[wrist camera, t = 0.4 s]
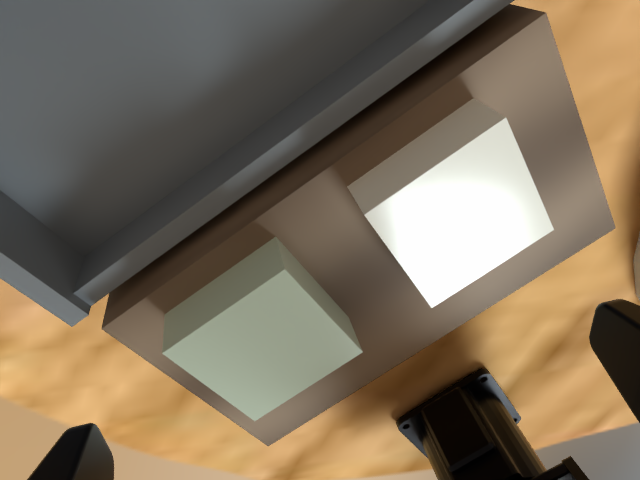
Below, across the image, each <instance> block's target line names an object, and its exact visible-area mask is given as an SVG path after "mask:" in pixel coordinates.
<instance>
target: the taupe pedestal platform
mask: <svg viewBox="0 0 640 480" xmlns="http://www.w3.org/2000/svg"><path fill="white" fill-rule="evenodd" d="M473 98H475V99H476V100H478V101H480V102H481V103H483V104H485V105H486V106H488V107H490V108H491V109H493V110H495V111H496V112H498V113H500V114H501V115H503V116H505V117H506V118H507V121H508V123H509V125H510V128H511V130H512V132H513V135H514V137H515V139H516V142H517V144H518V146H519V149H520V151H521V153H522V156H523V158H524V161H525V163H526V165H527V168H528V170H529V172H530V175H531V177H532V179H533V182H534V184H535V186H536V189H537V191H538V193H539V196H540V198H541V200H542V203H543V205H544V207H545V210H546V212H547V214H548V217H549V219H550V221H551V224H552V226H553V228H554V230H553V231H551V232H550V233H548V234H547V235H545V236H544V237H542V238H541V239H539V240H537V241H536V242H534V243H533V244H531V245H530V246H528V247H526V248H525V249H523V250H522V251H520V252H519V253H517V254H516V255H514V256H512V257H511V258H509V259H508V260H506V261H505V262H503V263H501V264H500V265H498V266H497V267H495V268H494V269H492V270H491V271H489V272H487V273H486V274H484V275H483V276H481V277H480V278H478V279H476V280H475V281H473V282H472V283H470V284H469V285H467V286H466V287H464V288H462V289H461V290H459V291H458V292H456V293H455V294H453V295H451V296H450V297H448V298H447V299H445V300H444V301H442V302H441V303H439V304H437V305H436V306H434V307H433V308H431V306H430V305H429V304H428V302H427V301H426V299H425V298H424V297H423V295H422V294H421V293H420V291H419V290H418V288H417V287H416V286H415V284H414V283H413V282H412V280H411V279H410V277H409V276H408V275H407V273H406V272H405V271H404V269H403V268H402V266H401V265H400V264H399V262H398V261H397V260H396V258H395V257H394V255H393V254H392V253H391V251H390V250H389V249H388V247H387V246H386V244H385V243H384V242H383V240H382V239H381V238H380V236H379V235H378V233H377V232H376V231H375V229H374V228H373V227H372V225H371V224H370V222H369V221H368V220H367V218H366V217H365V216H364V214H363V212H362V211H361V209H360V207H359V206H358V204H357V202H356V201H355V199H354V197H353V196H352V194H351V193H350V191H349V189H348V188H347V186H349V185H350V184H352V183H353V182H354V181H356V180H357V179H359V178H360V177H362V176H363V175H364V174H366V173H367V172H369V171H370V170H372V169H373V168H374V167H376V166H377V165H379V164H380V163H382V162H383V161H384V160H386V159H387V158H389V157H390V156H392V155H393V154H394V153H396V152H397V151H399V150H400V149H402V148H403V147H404V146H406V145H407V144H409V143H410V142H412V141H413V140H414V139H416V138H417V137H419V136H420V135H422V134H423V133H424V132H426V131H427V130H429V129H430V128H432V127H433V126H434V125H436V124H437V123H439V122H440V121H442V120H443V119H444V118H446V117H447V116H449V115H450V114H452V113H453V112H454V111H456V110H457V109H459V108H460V107H462V106H463V105H464V104H466V103H467V102H469V101H470V100H472V99H473ZM613 229H615V224H614V221H613V218H612V215H611V212H610V209H609V206H608V203H607V200H606V197H605V194H604V190H603V187H602V184H601V181H600V178H599V175H598V172H597V169H596V166H595V163H594V160H593V156H592V153H591V150H590V147H589V144H588V141H587V138H586V135H585V132H584V129H583V125H582V122H581V119H580V116H579V113H578V110H577V107H576V104H575V101H574V98H573V95H572V91H571V88H570V85H569V82H568V79H567V76H566V73H565V70H564V67H563V64H562V61H561V57H560V54H559V51H558V48H557V45H556V42H555V39H554V36H553V33H552V30H551V26H550V23H549V20H548V17H547V14H546V13H545V12H541V11H537V10H533V9H528V8H524V7H520V6H516V5H512V4H508V5H507V6H506V7H504V8H503V9H501V10H500V11H499V12H497V13H496V14H495V15H493V16H492V17H490V18H489V19H488V20H486V21H485V22H484V23H482V24H481V25H479V26H478V27H477V28H475V29H474V30H472V31H471V32H470V33H468V34H467V35H466V36H464V37H463V38H461V39H460V40H459V41H457V42H456V43H454V44H453V45H452V46H450V47H449V48H448V49H446V50H445V51H443V52H442V53H441V54H439V55H438V56H436V57H435V58H434V59H432V60H431V61H430V62H428V63H427V64H425V65H424V66H423V67H421V68H420V69H418V70H417V71H416V72H414V73H413V74H412V75H410V76H409V77H407V78H406V79H405V80H403V81H402V82H400V83H399V84H398V85H396V86H395V87H394V88H392V89H391V90H389V91H388V92H387V93H385V94H384V95H382V96H381V97H380V98H378V99H377V100H376V101H374V102H373V103H371V104H370V105H369V106H367V107H366V108H364V109H363V110H362V111H360V112H359V113H358V114H356V115H355V116H353V117H352V118H351V119H349V120H348V121H346V122H345V123H344V124H342V125H341V126H340V127H338V128H337V129H335V130H334V131H333V132H331V133H330V134H328V135H327V136H326V137H324V138H323V139H322V140H320V141H319V142H317V143H316V144H315V145H313V146H312V147H310V148H309V149H308V150H306V151H305V152H304V153H302V154H301V155H299V156H298V157H297V158H295V159H294V160H292V161H291V162H290V163H288V164H287V165H286V166H284V167H283V168H281V169H280V170H279V171H277V172H276V173H274V174H273V175H272V176H270V177H269V178H268V179H266V180H265V181H263V182H262V183H261V184H259V185H258V186H256V187H255V188H254V189H252V190H251V191H250V192H248V193H247V194H245V195H244V196H243V197H241V198H240V199H238V200H237V201H236V202H234V203H233V204H232V205H230V206H229V207H227V208H226V209H225V210H223V211H222V212H221V213H219V214H218V215H216V216H215V217H214V218H212V219H211V220H209V221H208V222H207V223H205V224H204V225H203V226H201V227H200V228H198V229H197V230H196V231H194V232H193V233H191V234H190V235H189V236H187V237H186V238H185V239H183V240H182V241H180V242H179V243H178V244H176V245H175V246H173V247H172V248H171V249H169V250H168V251H167V252H165V253H164V254H162V255H161V256H160V257H158V258H157V259H155V260H154V261H153V262H151V263H150V264H149V265H147V266H146V267H144V268H143V269H142V270H140V271H139V272H137V273H136V274H135V275H133V276H132V277H131V278H129V279H128V280H126V281H125V282H124V283H122V284H121V285H119V286H118V287H117V288H115V289H114V290H113V291H111V292H110V293H109V297H108V302H107V306H106V311H105V315H104V320H103V324H102V330H104V331H105V332H107V333H108V334H110V335H111V336H112V337H114V338H115V339H117V340H118V341H119V342H121V343H122V344H124V345H125V346H127V347H128V348H129V349H131V350H132V351H134V352H135V353H137V354H138V355H139V356H141V357H142V358H144V359H145V360H146V361H148V362H149V363H151V364H152V365H154V366H155V367H156V368H158V369H159V370H161V371H162V372H163V373H165V374H166V375H168V376H169V377H171V378H172V379H173V380H175V381H176V382H178V383H179V384H180V385H182V386H183V387H185V388H186V389H188V390H189V391H190V392H192V393H193V394H195V395H196V396H198V397H199V398H200V399H202V400H203V401H205V402H206V403H207V404H209V405H210V406H212V407H213V408H215V409H216V410H217V411H219V412H220V413H222V414H223V415H224V416H226V417H227V418H229V419H230V420H232V421H233V422H234V423H236V424H237V425H239V426H240V427H242V428H243V429H244V430H246V431H247V432H249V433H250V434H251V435H253V436H254V437H256V438H257V439H259V440H260V441H261V442H263V443H264V444H266V445H267V446H269V445H271V444H273V443H274V442H276V441H277V440H279V439H281V438H282V437H284V436H285V435H287V434H289V433H290V432H292V431H293V430H295V429H297V428H298V427H300V426H301V425H303V424H305V423H306V422H308V421H309V420H311V419H312V418H314V417H316V416H317V415H319V414H320V413H322V412H324V411H325V410H327V409H328V408H330V407H332V406H333V405H335V404H336V403H338V402H340V401H341V400H343V399H344V398H346V397H347V396H349V395H351V394H352V393H354V392H355V391H357V390H359V389H360V388H362V387H363V386H365V385H367V384H368V383H370V382H371V381H373V380H375V379H376V378H378V377H379V376H381V375H383V374H384V373H386V372H387V371H389V370H390V369H392V368H394V367H395V366H397V365H398V364H400V363H402V362H403V361H405V360H406V359H408V358H410V357H411V356H413V355H414V354H416V353H418V352H419V351H421V350H422V349H424V348H425V347H427V346H429V345H430V344H432V343H433V342H435V341H437V340H438V339H440V338H441V337H443V336H445V335H446V334H448V333H449V332H451V331H453V330H454V329H456V328H457V327H459V326H461V325H462V324H464V323H465V322H467V321H468V320H470V319H472V318H473V317H475V316H476V315H478V314H480V313H481V312H483V311H484V310H486V309H488V308H489V307H491V306H492V305H494V304H496V303H497V302H499V301H500V300H502V299H503V298H505V297H507V296H508V295H510V294H511V293H513V292H515V291H516V290H518V289H519V288H521V287H523V286H524V285H526V284H527V283H529V282H531V281H532V280H534V279H535V278H537V277H539V276H540V275H542V274H543V273H545V272H546V271H548V270H550V269H551V268H553V267H554V266H556V265H558V264H559V263H561V262H562V261H564V260H566V259H567V258H569V257H570V256H572V255H574V254H575V253H577V252H578V251H580V250H581V249H583V248H585V247H586V246H588V245H589V244H591V243H593V242H594V241H596V240H597V239H599V238H601V237H602V236H604V235H605V234H607V233H609V232H610V231H612V230H613ZM274 237H277V238H278V239H279V241H280V242H281V243H282V244H283V245H284V246H285V247H286V248H287V249H288V250H289V252H290V253H291V254H292V255H293V256H294V257H295V258H296V259H297V260H298V262H299V263H300V264H301V265H302V266H303V267H304V268H305V269H306V270H307V272H308V273H309V274H310V275H311V276H312V277H313V278H314V279H315V280H316V282H317V283H318V284H319V285H320V286H321V287H322V288H323V289H324V290H325V291H326V293H327V294H328V295H329V296H330V297H331V298H332V299H333V300H334V301H335V303H336V304H337V305H338V306H339V307H340V308H341V309H342V310H343V311H344V313H345V314H346V315H347V316H348V317H349V319H350V322H351V324H352V327H353V329H354V332H355V334H356V336H357V339H358V341H359V344H360V346H361V349H362V351H363V352H362V353H361V354H359V355H358V356H356V357H355V358H353V359H351V360H350V361H348V362H347V363H345V364H344V365H342V366H341V367H339V368H337V369H336V370H334V371H333V372H331V373H330V374H328V375H326V376H325V377H323V378H322V379H320V380H319V381H317V382H316V383H314V384H312V385H311V386H309V387H308V388H306V389H305V390H303V391H301V392H300V393H298V394H297V395H295V396H294V397H292V398H291V399H289V400H287V401H286V402H284V403H283V404H281V405H280V406H278V407H276V408H275V409H273V410H272V411H270V412H269V413H267V414H266V415H264V416H262V417H261V418H259V419H258V420H256V421H254V420H252V419H251V418H249V417H248V416H247V415H245V414H244V413H243V412H241V411H240V410H239V409H237V408H236V407H234V406H233V405H232V404H230V403H229V402H228V401H226V400H225V399H224V398H222V397H221V396H219V395H218V394H217V393H215V392H214V391H213V390H211V389H210V388H209V387H207V386H206V385H204V384H203V383H202V382H200V381H199V380H198V379H196V378H195V377H194V376H192V375H191V374H189V373H188V372H187V371H185V370H184V369H183V368H181V367H180V366H179V365H177V364H176V363H174V362H173V361H172V360H170V359H169V358H168V357H166V356H165V355H163V354H162V347H163V332H164V317H165V314H166V313H167V312H169V311H170V310H172V309H173V308H174V307H176V306H177V305H179V304H180V303H182V302H183V301H184V300H186V299H187V298H189V297H190V296H192V295H193V294H194V293H196V292H197V291H199V290H200V289H202V288H203V287H204V286H206V285H207V284H209V283H210V282H212V281H213V280H214V279H216V278H217V277H219V276H220V275H222V274H223V273H224V272H226V271H227V270H229V269H230V268H232V267H233V266H234V265H236V264H237V263H239V262H240V261H242V260H243V259H244V258H246V257H247V256H249V255H250V254H252V253H253V252H254V251H256V250H257V249H259V248H260V247H262V246H263V245H264V244H266V243H267V242H269V241H270V240H272V239H273V238H274Z"/></svg>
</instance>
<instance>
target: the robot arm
mask: <svg viewBox="0 0 640 480" xmlns="http://www.w3.org/2000/svg"><path fill="white" fill-rule="evenodd" d="M589 338H590V344H591V347H592V349H593V351H594V352H595V354H596V355H597V357H598V359H599V360H600V362H601V363H602V365H603V367H604V368H605V370H606V371H607V373H608V374H609V376H610V378H611V379H612V381H613V382H614V384H615V386H616V387H617V389H618V390H619V392H620V393H621V395H622V397H623V398H624V400H625V401H626V403H627V405H628V406H629V408H630V409H631V411H632V412H633V414H634V415H635V417H636V418H637V420H638V421H639V423H640V306H639V305H636V304H634V303H631V302H629V301H626V300H622V299H616V300H612V301H608V302H604V303H601V304H599V305H598V306H597V307H596V310H595V314H594V318H593V323H592V327H591V331H590V336H589ZM520 420H521V417H520V416H519V414H518V413H517V411H516V410H515V408H514V407H513V405H512V404H511V403H510V401H509V400H508V398H507V397H506V396H505V394H504V393H503V391H502V390H501V388H500V387H499V386H498V384H497V383H496V381H495V380H494V378H493V377H492V376H491V374H490V373H489V371H488V370H487V369H480V370H478V371H476V372H474V373H473V374H471V375H470V376H468V377H466V378H465V379H463V380H461V381H460V382H458V383H456V384H455V385H453V386H452V387H450V388H448V389H447V390H445V391H443V392H442V393H440V394H438V395H437V396H435V397H433V398H432V399H430V400H429V401H427V402H425V403H424V404H422V405H420V406H419V407H417V408H415V409H414V410H412V411H411V412H409V413H407V414H406V415H404V416H402V417H401V418H399V419H398V420H397V423H396V424H397V426H398V429H399V431H400V432H401V433H402V434H403V435H404V436H405V437H407V438H408V439H409V440H410V441H411V442H412V443H413V444H414V445H415V446H416V447H417V448H418V449H419V450H420V451H421V452H422V453H423V454H424V455H425V456H426V457H427V458H428V459H429V461H430V463H431V465H432V468H433V470H434V472H435V474H436V477H437V479H438V480H589V479H588V478H587V476H586V475H585V474H584V473H583V471H582V470H581V469H580V468H579V466H578V465H577V464H576V462H575V461H574V460H573V458H572V457H571V456H570V457H568V458H566V459H564V460H562V463H560V464H559V465H556V466H555V467H553V468H551V469H549V470H546V468H545V467H544V465H543V464H542V462H541V461H540V459H539V458H538V456H537V455H536V453H535V451H534V450H533V448H532V447H531V445H530V444H529V442H528V441H527V439H526V438H525V436H524V435H523V433H522V432H521V430H520V429H519V427H518V426H517V423H519V421H520ZM27 480H114V460H113V456H112V453H111V451H110V449H109V447H108V445H107V443H106V441H105V439H104V438H103V436H102V434H101V432H100V430H99V428H98V427H97V425H95V424H93V423H88V424H84V425H80V426H75V427H71V428H69V429H67V430H66V431H65V432H64V433H63V434H62V436H61V437H60V438H59V439H58V441H57V442H56V443H55V445H54V446H53V447H52V448H51V450H50V451H49V452H48V454H47V455H46V456H45V457H44V459H43V460H42V461H41V463H40V464H39V465H38V467H37V468H36V469H35V470H34V471H33V473H32V474H31V475H30V477H29V478H28V479H27Z"/></svg>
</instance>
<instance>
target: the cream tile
mask: <svg viewBox="0 0 640 480" xmlns="http://www.w3.org/2000/svg"><path fill="white" fill-rule="evenodd" d="M347 188H348V189H349V191H350V193H351V194H352V196H353V197H354V199H355V201H356V202H357V204H358V206H359V207H360V209H361V211H362V212H363V214H364V216H365V217H366V218H367V220H368V221H369V222H370V224H371V225H372V227H373V228H374V229H375V231H376V232H377V233H378V235H379V236H380V238H381V239H382V240H383V242H384V243H385V244H386V246H387V247H388V249H389V250H390V251H391V253H392V254H393V255H394V257H395V258H396V260H397V261H398V262H399V264H400V265H401V266H402V268H403V269H404V271H405V272H406V273H407V275H408V276H409V277H410V279H411V280H412V282H413V283H414V284H415V286H416V287H417V288H418V290H419V291H420V293H421V294H422V295H423V297H424V298H425V299H426V301H427V302H428V304H429V305H430V306H431V308H433V307H434V306H436V305H437V304H439V303H441V302H442V301H444V300H445V299H447V298H448V297H450V296H451V295H453V294H455V293H456V292H458V291H459V290H461V289H462V288H464V287H466V286H467V285H469V284H470V283H472V282H473V281H475V280H476V279H478V278H480V277H481V276H483V275H484V274H486V273H487V272H489V271H491V270H492V269H494V268H495V267H497V266H498V265H500V264H501V263H503V262H505V261H506V260H508V259H509V258H511V257H512V256H514V255H516V254H517V253H519V252H520V251H522V250H523V249H525V248H526V247H528V246H530V245H531V244H533V243H534V242H536V241H537V240H539V239H541V238H542V237H544V236H545V235H547V234H548V233H550V232H551V231H553V230H554V228H553V226H552V224H551V221H550V219H549V217H548V214H547V212H546V210H545V207H544V205H543V203H542V200H541V198H540V196H539V193H538V191H537V189H536V186H535V184H534V182H533V179H532V177H531V175H530V172H529V170H528V168H527V165H526V163H525V161H524V158H523V156H522V153H521V151H520V149H519V146H518V144H517V142H516V139H515V137H514V135H513V132H512V130H511V128H510V125H509V123H508V121H507V118H506V117H505V116H503V115H501V114H500V113H498V112H496V111H495V110H493V109H491V108H490V107H488V106H486V105H485V104H483V103H481V102H480V101H478V100H476V99H475V98H473V99H472V100H470V101H469V102H467V103H466V104H464V105H463V106H462V107H460V108H459V109H457V110H456V111H454V112H453V113H452V114H450V115H449V116H447V117H446V118H444V119H443V120H442V121H440V122H439V123H437V124H436V125H434V126H433V127H432V128H430V129H429V130H427V131H426V132H424V133H423V134H422V135H420V136H419V137H417V138H416V139H414V140H413V141H412V142H410V143H409V144H407V145H406V146H404V147H403V148H402V149H400V150H399V151H397V152H396V153H394V154H393V155H392V156H390V157H389V158H387V159H386V160H384V161H383V162H382V163H380V164H379V165H377V166H376V167H374V168H373V169H372V170H370V171H369V172H367V173H366V174H364V175H363V176H362V177H360V178H359V179H357V180H356V181H354V182H353V183H352V184H350V185H349V186H347Z"/></svg>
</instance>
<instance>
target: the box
mask: <svg viewBox="0 0 640 480" xmlns="http://www.w3.org/2000/svg"><path fill="white" fill-rule="evenodd" d="M513 1H514V0H0V278H1V279H2V280H4V281H5V282H7V283H8V284H10V285H11V286H13V287H14V288H15V289H17V290H18V291H20V292H21V293H23V294H24V295H26V296H27V297H29V298H30V299H32V300H33V301H35V302H36V303H38V304H39V305H40V306H42V307H43V308H45V309H46V310H48V311H49V312H51V313H52V314H54V315H55V316H57V317H58V318H60V319H61V320H63V321H64V322H66V323H67V324H68V325H70V326H71V327H72V326H74V325H75V324H77V323H78V322H79V321H81V320H82V319H84V318H85V317H86V316H88V315H89V311H90V308H91V306H92V305H93V304H95V303H96V302H97V301H99V300H100V299H101V298H103V297H104V296H106V295H107V294H108V293H110V292H111V291H113V290H114V289H115V288H117V287H118V286H119V285H121V284H122V283H124V282H125V281H126V280H128V279H129V278H131V277H132V276H133V275H135V274H136V273H137V272H139V271H140V270H142V269H143V268H144V267H146V266H147V265H149V264H150V263H151V262H153V261H154V260H155V259H157V258H158V257H160V256H161V255H162V254H164V253H165V252H167V251H168V250H169V249H171V248H172V247H173V246H175V245H176V244H178V243H179V242H180V241H182V240H183V239H185V238H186V237H187V236H189V235H190V234H191V233H193V232H194V231H196V230H197V229H198V228H200V227H201V226H203V225H204V224H205V223H207V222H208V221H209V220H211V219H212V218H214V217H215V216H216V215H218V214H219V213H221V212H222V211H223V210H225V209H226V208H227V207H229V206H230V205H232V204H233V203H234V202H236V201H237V200H238V199H240V198H241V197H243V196H244V195H245V194H247V193H248V192H250V191H251V190H252V189H254V188H255V187H256V186H258V185H259V184H261V183H262V182H263V181H265V180H266V179H268V178H269V177H270V176H272V175H273V174H274V173H276V172H277V171H279V170H280V169H281V168H283V167H284V166H286V165H287V164H288V163H290V162H291V161H292V160H294V159H295V158H297V157H298V156H299V155H301V154H302V153H304V152H305V151H306V150H308V149H309V148H310V147H312V146H313V145H315V144H316V143H317V142H319V141H320V140H322V139H323V138H324V137H326V136H327V135H328V134H330V133H331V132H333V131H334V130H335V129H337V128H338V127H340V126H341V125H342V124H344V123H345V122H346V121H348V120H349V119H351V118H352V117H353V116H355V115H356V114H358V113H359V112H360V111H362V110H363V109H364V108H366V107H367V106H369V105H370V104H371V103H373V102H374V101H376V100H377V99H378V98H380V97H381V96H382V95H384V94H385V93H387V92H388V91H389V90H391V89H392V88H394V87H395V86H396V85H398V84H399V83H400V82H402V81H403V80H405V79H406V78H407V77H409V76H410V75H412V74H413V73H414V72H416V71H417V70H418V69H420V68H421V67H423V66H424V65H425V64H427V63H428V62H430V61H431V60H432V59H434V58H435V57H436V56H438V55H439V54H441V53H442V52H443V51H445V50H446V49H448V48H449V47H450V46H452V45H453V44H454V43H456V42H457V41H459V40H460V39H461V38H463V37H464V36H466V35H467V34H468V33H470V32H471V31H472V30H474V29H475V28H477V27H478V26H479V25H481V24H482V23H484V22H485V21H486V20H488V19H489V18H490V17H492V16H493V15H495V14H496V13H497V12H499V11H500V10H501V9H503V8H504V7H506V6H507V5H508V4H510V3H511V2H513Z"/></svg>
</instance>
